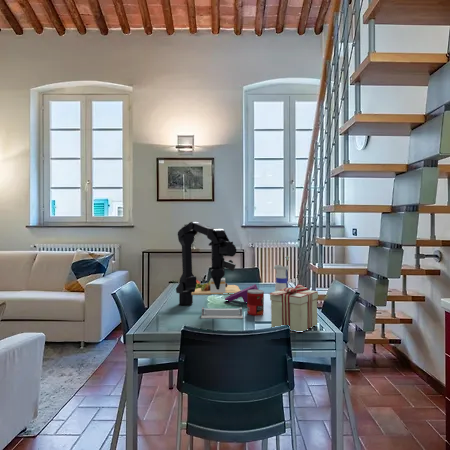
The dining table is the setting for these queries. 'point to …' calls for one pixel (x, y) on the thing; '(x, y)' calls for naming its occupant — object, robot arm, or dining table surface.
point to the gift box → (294, 308)
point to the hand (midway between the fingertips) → (218, 288)
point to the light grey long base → (221, 313)
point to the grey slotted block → (221, 288)
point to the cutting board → (205, 290)
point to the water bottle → (281, 276)
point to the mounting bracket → (241, 294)
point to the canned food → (255, 302)
